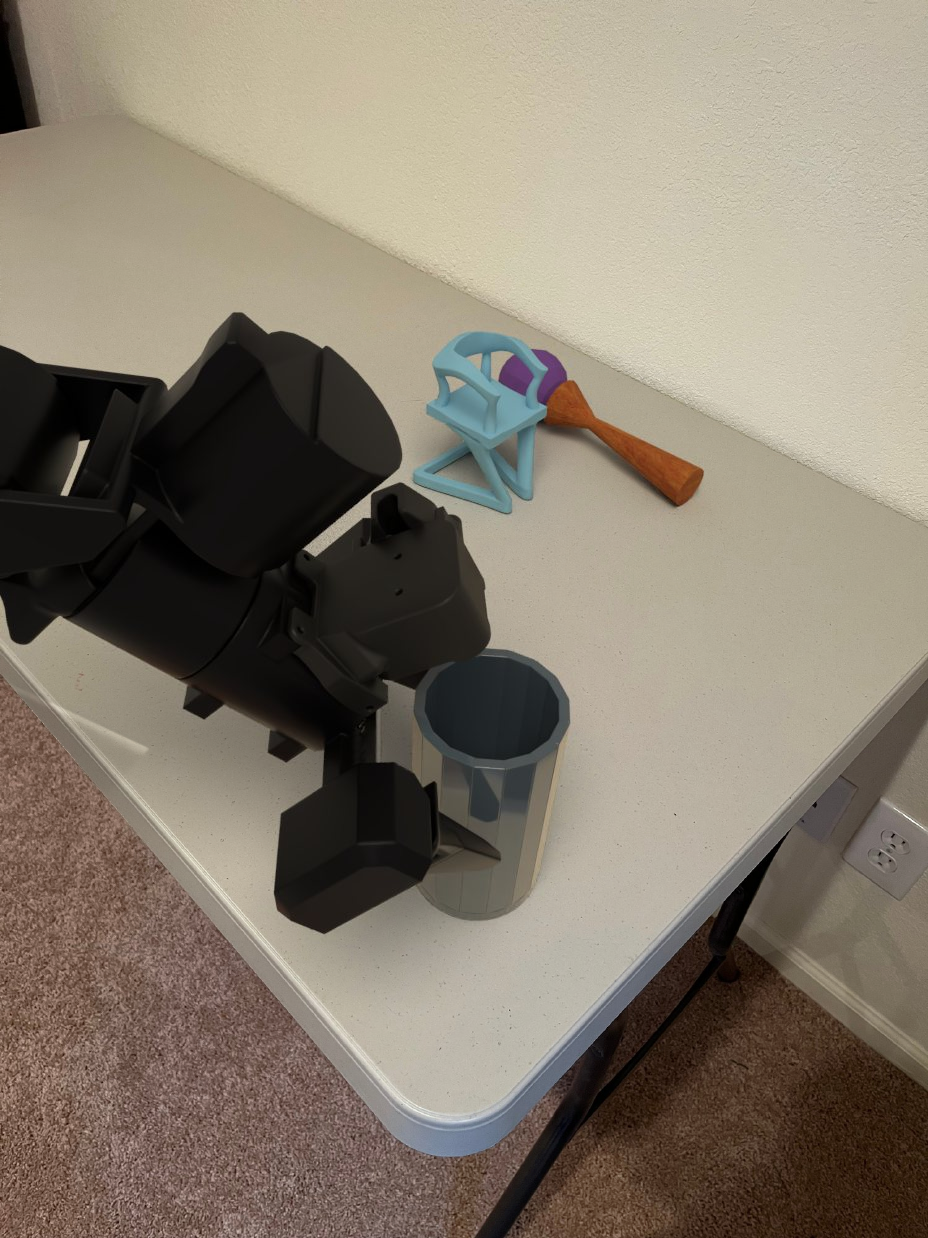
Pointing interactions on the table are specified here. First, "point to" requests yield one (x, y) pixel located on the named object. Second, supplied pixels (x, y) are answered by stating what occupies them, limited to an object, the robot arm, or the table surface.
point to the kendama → (601, 426)
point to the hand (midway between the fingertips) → (485, 776)
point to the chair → (485, 419)
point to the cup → (491, 770)
